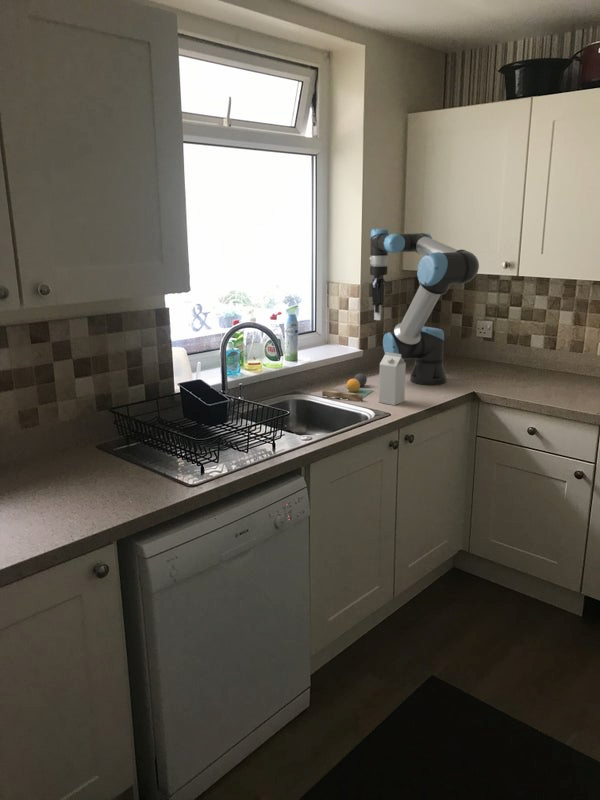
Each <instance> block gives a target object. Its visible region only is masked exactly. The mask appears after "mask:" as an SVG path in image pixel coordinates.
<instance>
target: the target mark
mask: <svg viewBox="0 0 600 800" xmlns="http://www.w3.org/2000/svg"><path fill="white" fill-rule="evenodd" d="M373 391H374V390H371V389H363V388H362V389H361V388H359V390H358V391H356V392H350V391H348V393H357V394H363V399H364V398H366V396H368V395H370V394H371V393H372V392H373Z"/></svg>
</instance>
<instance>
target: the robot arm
mask: <svg viewBox="0 0 600 800" xmlns="http://www.w3.org/2000/svg"><path fill="white" fill-rule="evenodd" d="M369 238H370V243H369V245H370V253H369V254H370V255H369V256H370V257H369V261H370V262H369V263H370V267H369V274H370V275H371V276H373V278H372V282H371V283H370V285H371V296H372V297H371V298H372V306H374V308H373V310H374V312H373V320H374V321H381V320H382V305H384V297H385V287H386V280H385V279H384V276H386V275H388V266H387V265H388V263H389V262H388V261H389V260H388V259H389V253H390V254H397V253H410V252H411V253H416V254H419V255H421V256H422V258H421V259H420V260H419V262H418V265H417V271H416V272H417V273H416V275H417V279H418V283H419V286H418V288H417V290H416V293H415V295H414V296H413V298H412V301H411V303H410V305H409V307H408V309H407V311H406V313H405V315H404V317H403V319H402V321H401V322H400V323H397V324H396V325H395V327H394V329H393V331H392V332H391V331H390V332H386V333H385V334H384V335H383V338H382V346H383V351H384V353H385V352H389V353H396V354H401V357H402V359H403V360H404V361H405V360H412V359H414V365H413V367H412V369H411V373H410V375H409V378H410V382H412V383H414V384H419V385H426V386H427V385H428V386H429V385H430V386H434V385H435V386H436V385H442V384H445V383H446V382H447V374H446V370H445V368H444V348H445V347H444V345H445V344H444V343H445V332H444V330H443V329H441V328H437V327H433V326H432V327H429V326H425V324H426V323H427V321H428V318H429V317H430V316H431V314H432V312H433V310H434V308H435V306H436V304H437V302H438V301H439V299H440V298H441V296H443V295H445V294H446V293H447V292H448V290H449V289H450V287H451V285H461V284H466V283H469V282H470V281H472V280H473V279H474V278H475V277H476V276H477V274H478V272H479V269H480V263H479V259H478V258H477V256H476V255H475V254H474V253H472V252H471V251H468V250H466V249H461V248H460V249H456V248H454V247H451V246H449V245H448V244H444V243H443V242H440V241H438V240H435V239H433V236H432V235H431V234H430V233H425V232H420V233H417V232H416V233H389V230H388V229H387V228H372V229H371V231H370V237H369Z"/></svg>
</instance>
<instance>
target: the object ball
mask: <svg viewBox="0 0 600 800" xmlns="http://www.w3.org/2000/svg"><path fill="white" fill-rule="evenodd" d="M345 388H347V389H348V390H349V391H350V392H356V391H358V390H359V389H361V387H360V383H359V381H358V380H356V379H354V378H350V379H349V380H348V381H347V382H346V387H345Z"/></svg>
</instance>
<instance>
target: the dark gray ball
mask: <svg viewBox="0 0 600 800" xmlns="http://www.w3.org/2000/svg"><path fill="white" fill-rule="evenodd" d="M353 379H356V380H358V381H359V383H360V388H361V387H364V386H365V385H366V384H367V382H368V379H367V376H366V375H365V374H364V373H360V372H359V373H357V374H355V375H354V377H353Z"/></svg>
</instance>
